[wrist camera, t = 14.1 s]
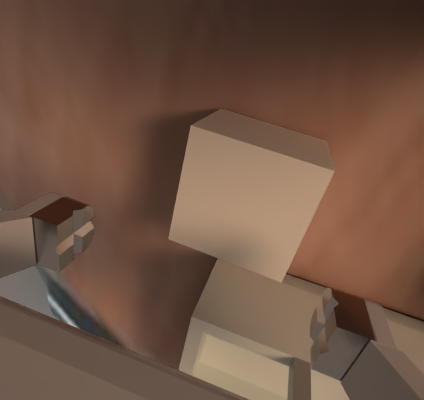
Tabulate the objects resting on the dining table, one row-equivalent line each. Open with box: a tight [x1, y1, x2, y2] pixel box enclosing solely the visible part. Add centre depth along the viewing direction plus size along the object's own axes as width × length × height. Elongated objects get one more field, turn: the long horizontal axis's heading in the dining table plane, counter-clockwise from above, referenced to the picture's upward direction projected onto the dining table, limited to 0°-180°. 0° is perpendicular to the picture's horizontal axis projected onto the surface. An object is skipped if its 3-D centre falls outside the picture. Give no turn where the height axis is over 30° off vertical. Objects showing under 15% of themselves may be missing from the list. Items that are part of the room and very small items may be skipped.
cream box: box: [168, 109, 335, 283], centre depth 15 cm, size 6×6×5 cm
